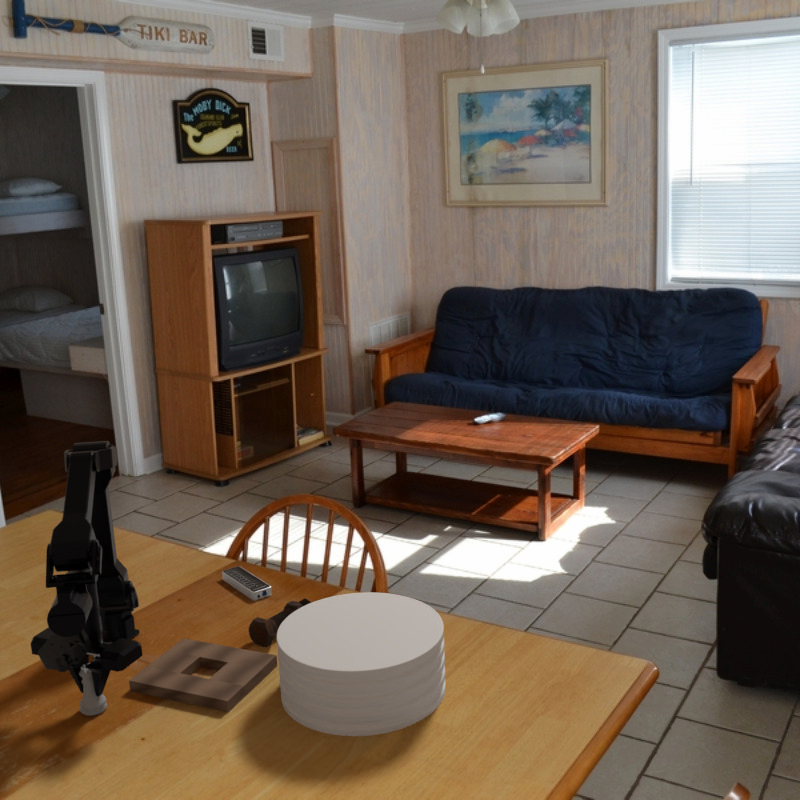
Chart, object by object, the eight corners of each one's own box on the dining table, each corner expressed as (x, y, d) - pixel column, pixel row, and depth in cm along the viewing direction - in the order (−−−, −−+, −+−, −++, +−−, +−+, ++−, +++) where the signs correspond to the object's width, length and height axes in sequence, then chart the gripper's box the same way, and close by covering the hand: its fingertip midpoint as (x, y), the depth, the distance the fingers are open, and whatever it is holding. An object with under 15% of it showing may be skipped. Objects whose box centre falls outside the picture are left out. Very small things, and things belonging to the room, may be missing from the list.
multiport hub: (240, 575, 216) (239, 565, 216) (272, 596, 205) (272, 586, 205) (221, 580, 214) (220, 571, 213) (254, 602, 203) (253, 592, 202)
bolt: (312, 623, 196) (262, 653, 184) (295, 607, 198) (244, 636, 186) (323, 603, 193) (273, 632, 181) (305, 586, 195) (254, 614, 183)
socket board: (130, 690, 170) (129, 680, 170) (184, 647, 184) (183, 638, 184) (228, 712, 162) (227, 701, 162) (277, 665, 176) (276, 655, 176)
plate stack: (464, 660, 176) (463, 601, 173) (416, 749, 150) (413, 682, 148) (321, 641, 185) (317, 585, 182) (252, 722, 159) (246, 658, 157)
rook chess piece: (83, 703, 167) (77, 661, 165) (110, 701, 167) (104, 658, 165) (77, 718, 162) (71, 674, 160) (104, 716, 163) (99, 672, 161)
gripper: (-1, 621, 156) (13, 708, 160) (93, 639, 149) (105, 730, 153) (49, 592, 166) (60, 675, 170) (139, 607, 159) (149, 694, 163)
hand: (91, 693), depth 164 cm, fingers closed on rook chess piece, 3 cm apart
